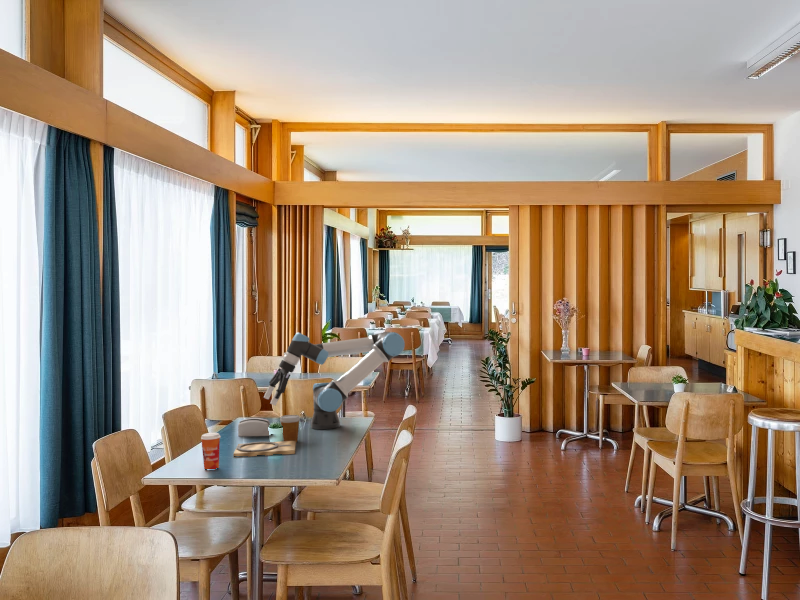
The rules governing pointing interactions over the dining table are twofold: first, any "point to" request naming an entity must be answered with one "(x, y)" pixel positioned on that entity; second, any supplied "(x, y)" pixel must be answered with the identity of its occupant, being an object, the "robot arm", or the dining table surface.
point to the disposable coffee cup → (290, 427)
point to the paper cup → (210, 450)
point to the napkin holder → (253, 427)
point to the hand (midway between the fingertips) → (269, 401)
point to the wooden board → (265, 448)
